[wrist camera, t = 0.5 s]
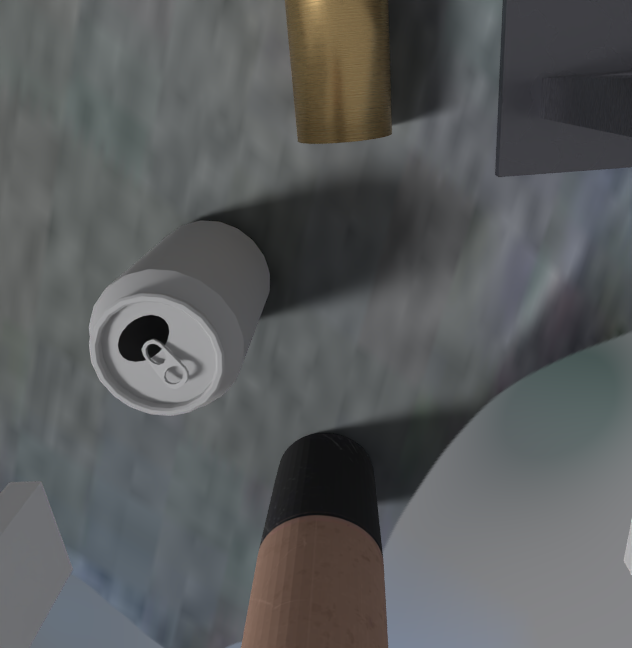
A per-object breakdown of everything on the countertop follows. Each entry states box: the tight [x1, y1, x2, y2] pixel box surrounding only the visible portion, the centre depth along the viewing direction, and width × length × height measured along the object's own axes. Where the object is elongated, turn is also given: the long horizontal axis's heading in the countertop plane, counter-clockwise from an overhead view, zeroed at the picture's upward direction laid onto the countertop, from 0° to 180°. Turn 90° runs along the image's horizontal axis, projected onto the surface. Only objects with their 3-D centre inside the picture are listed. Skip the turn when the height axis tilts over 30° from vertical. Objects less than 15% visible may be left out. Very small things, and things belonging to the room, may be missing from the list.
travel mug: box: [241, 433, 388, 648], centre depth 33 cm, size 8×8×20 cm
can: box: [89, 220, 270, 416], centre depth 30 cm, size 8×8×12 cm
